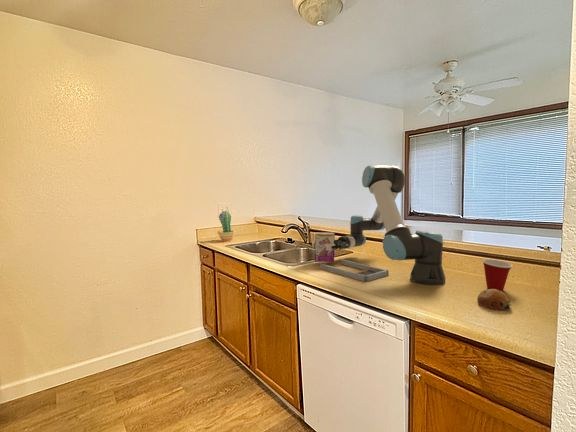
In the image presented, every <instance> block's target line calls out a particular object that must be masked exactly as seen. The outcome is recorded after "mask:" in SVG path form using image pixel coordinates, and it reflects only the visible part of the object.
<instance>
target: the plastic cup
mask: <svg viewBox="0 0 576 432" xmlns="http://www.w3.org/2000/svg"><path fill="white" fill-rule="evenodd" d="M482 263H483V268H484V269H483V270H484V276H485V282H486V284H485V285H486V288H487V290H488V289H497V290H499V291H501V292H504V289H505V285H506V284H507V278H508V275H509V272H510V270H511V269H512V268H513V266H514V265H513V264H512V263H509V262H507V261H504V260H497V259H488V258H487V259H486V258H485V259H482Z"/></svg>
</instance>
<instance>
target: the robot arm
mask: <svg viewBox="0 0 576 432" xmlns="http://www.w3.org/2000/svg"><path fill="white" fill-rule="evenodd" d="M361 183H362V184H361V185H362V186H363V187H364V188H366V189H367V188H368V190H369V193H370V194H372V195H374V199H375V202H376V208H375V210H374V212H373V214H372V215H371V218H370V217H369V218H367V217H365V218H364V216H363V215H357V214H356V215H351V216H350V222H349V224H350V227H349V228H350V229H349V230H350V234H349V235H343V236H339V237H338V238H337V239H335V241H334V244H332V245H326V250H333V249H334V250H346V249H351V248H355V247H356V248H357V247H362V246H364V245H365V244H366V242H367V238H366V236H365V234H364V232H363V231H383V230H385V231H386V232H385V233H384V237H383V239H382V249H383V252H384V254H385V256H386V257H387V258H389V260H392V261H408V260H409V261H411V260H414V263H413V266H412V269H411V272H410V280H411V281H413V282H415V283H419V284H423V285H432V286H438V285H443V284H445V283H446V278H447V277H446V274H445V272H444V269H443V248H444V247H443V245H444V237H443V235H442V234H441V233H439V232H438V233H437V232H433V231H427V230H426V231H425V230H416V231H415V233H412V232H411V230H410V228H409V227H407V226H405V224H404V222H403V218H402V216H401V214H400V211H399V208H398V206H397V202H396V198H397V197H398V195H399V194H400V193H402V192H403V189H404V188H405V184H406V176H405V173H404V171H403V170H402V169H401V168H400V167H398V166H396V165H387V164H386V165H377V164H372V165H371V164H370V165H367V166H366V167H364V170H363V171H362V177H361ZM311 245H312V246H311V247H312V248H315V241H313V242H312V243H311Z"/></svg>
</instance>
